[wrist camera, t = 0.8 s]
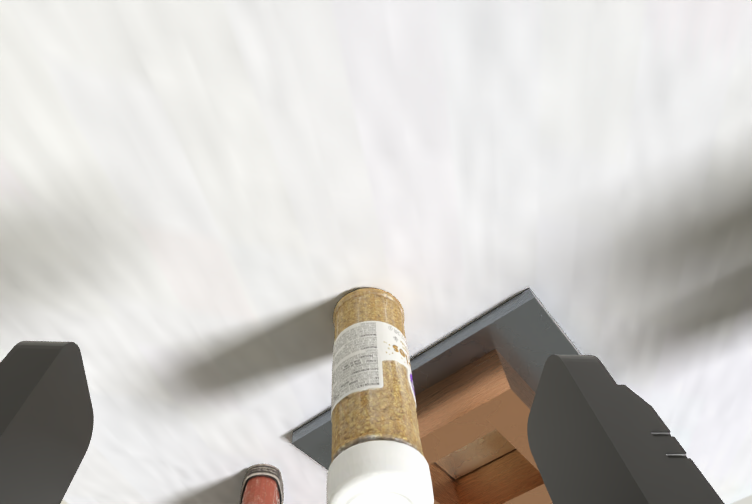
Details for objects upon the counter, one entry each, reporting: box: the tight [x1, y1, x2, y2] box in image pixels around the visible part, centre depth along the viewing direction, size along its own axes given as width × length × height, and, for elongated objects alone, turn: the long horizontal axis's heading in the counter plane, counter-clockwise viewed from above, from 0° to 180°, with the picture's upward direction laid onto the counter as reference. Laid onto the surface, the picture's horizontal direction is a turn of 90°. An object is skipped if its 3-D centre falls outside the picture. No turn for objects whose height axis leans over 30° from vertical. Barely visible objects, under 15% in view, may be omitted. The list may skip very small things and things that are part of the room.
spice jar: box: [327, 288, 434, 504], centre depth 27 cm, size 5×5×13 cm
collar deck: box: [292, 288, 581, 504], centre depth 37 cm, size 20×16×4 cm
